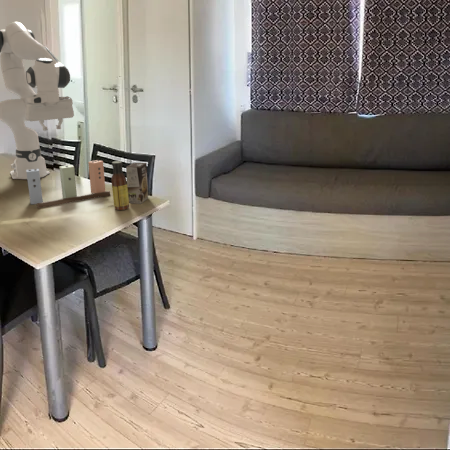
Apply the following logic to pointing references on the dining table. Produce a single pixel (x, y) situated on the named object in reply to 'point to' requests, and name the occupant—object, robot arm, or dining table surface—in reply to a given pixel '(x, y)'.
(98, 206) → the dining table surface
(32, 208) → the dining table surface
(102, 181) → the tile three
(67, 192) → the tile one
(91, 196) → the tile rack
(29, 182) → the tile two
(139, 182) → the coffee box
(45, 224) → the dining table surface
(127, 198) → the sauce bottle
